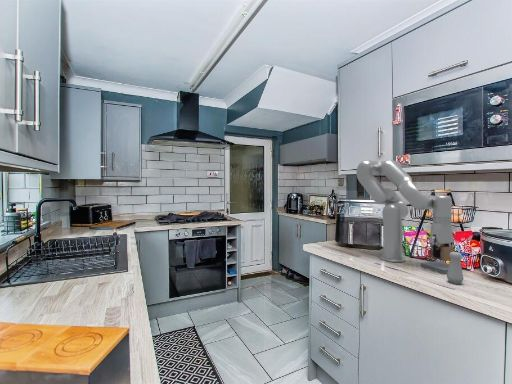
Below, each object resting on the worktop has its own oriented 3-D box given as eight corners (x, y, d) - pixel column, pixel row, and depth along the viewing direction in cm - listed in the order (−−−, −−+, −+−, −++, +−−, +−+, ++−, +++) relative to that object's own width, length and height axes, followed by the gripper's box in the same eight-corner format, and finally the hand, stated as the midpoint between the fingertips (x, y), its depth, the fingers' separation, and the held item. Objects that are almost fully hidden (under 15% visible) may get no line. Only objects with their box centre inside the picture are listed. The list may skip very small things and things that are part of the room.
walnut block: (431, 257, 134) (431, 245, 133) (440, 256, 136) (440, 244, 136) (443, 260, 127) (443, 248, 127) (453, 259, 130) (453, 247, 129)
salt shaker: (443, 281, 116) (444, 251, 115) (452, 279, 118) (452, 250, 117) (457, 286, 110) (458, 254, 110) (466, 284, 112) (467, 253, 112)
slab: (420, 266, 136) (420, 263, 136) (437, 264, 140) (437, 260, 140) (444, 274, 124) (444, 270, 124) (462, 271, 128) (462, 267, 128)
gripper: (446, 218, 138) (446, 253, 138) (422, 220, 132) (421, 256, 132) (462, 220, 131) (462, 256, 131) (436, 222, 125) (436, 260, 125)
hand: (441, 256), depth 132 cm, fingers closed on walnut block, 6 cm apart
